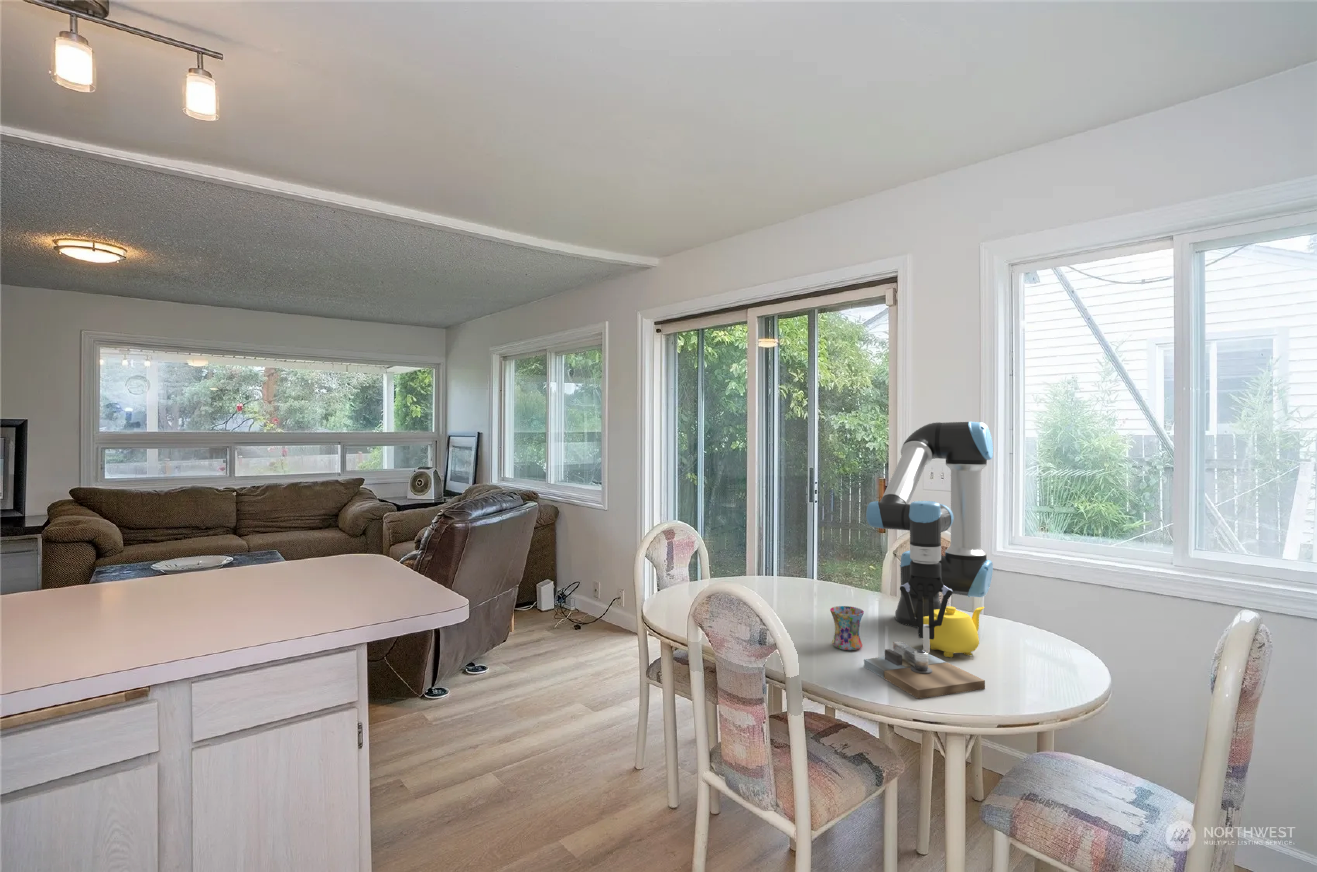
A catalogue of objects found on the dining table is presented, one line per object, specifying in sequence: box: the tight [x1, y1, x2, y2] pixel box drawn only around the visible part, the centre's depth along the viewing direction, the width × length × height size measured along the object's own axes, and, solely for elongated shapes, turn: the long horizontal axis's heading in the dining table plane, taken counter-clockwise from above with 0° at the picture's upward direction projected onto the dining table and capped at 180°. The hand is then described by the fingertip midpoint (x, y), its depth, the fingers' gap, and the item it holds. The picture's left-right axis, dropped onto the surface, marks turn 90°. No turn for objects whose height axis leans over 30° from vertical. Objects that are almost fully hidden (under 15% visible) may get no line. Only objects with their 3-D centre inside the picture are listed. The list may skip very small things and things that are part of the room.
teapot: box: [923, 605, 985, 658], centre depth 178 cm, size 13×20×12 cm
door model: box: [863, 648, 986, 700], centre depth 159 cm, size 19×21×4 cm
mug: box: [829, 605, 865, 651], centre depth 183 cm, size 12×9×11 cm
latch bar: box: [892, 641, 929, 670], centre depth 163 cm, size 13×3×4 cm, turn 10°
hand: (926, 650), depth 165 cm, fingers closed
